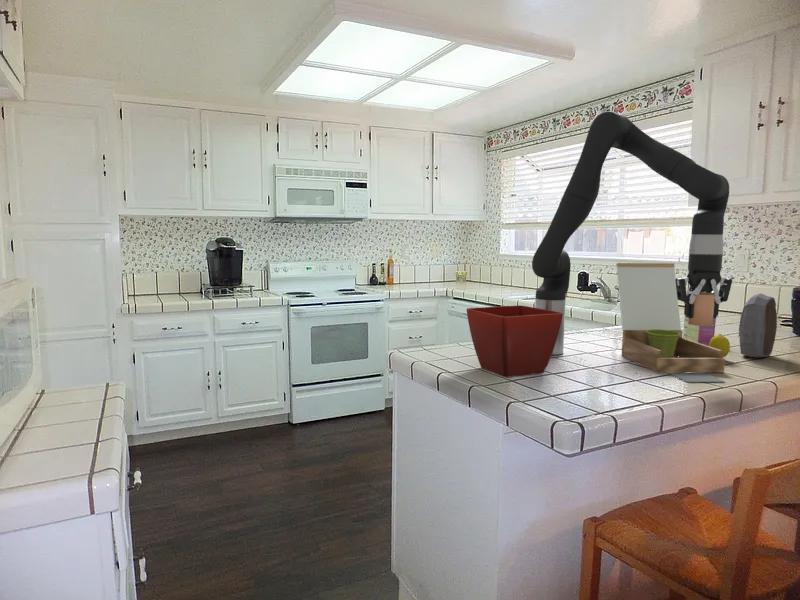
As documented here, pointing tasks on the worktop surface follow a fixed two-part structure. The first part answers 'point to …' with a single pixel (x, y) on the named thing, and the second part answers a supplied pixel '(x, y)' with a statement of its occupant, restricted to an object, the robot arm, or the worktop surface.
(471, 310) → the plant pot
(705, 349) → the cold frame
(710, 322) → the tan cylinder
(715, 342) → the lemon
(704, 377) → the mat
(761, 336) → the soft grey pack
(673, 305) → the propped lid
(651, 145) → the robot arm
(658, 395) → the worktop surface
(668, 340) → the plant pot
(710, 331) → the box
